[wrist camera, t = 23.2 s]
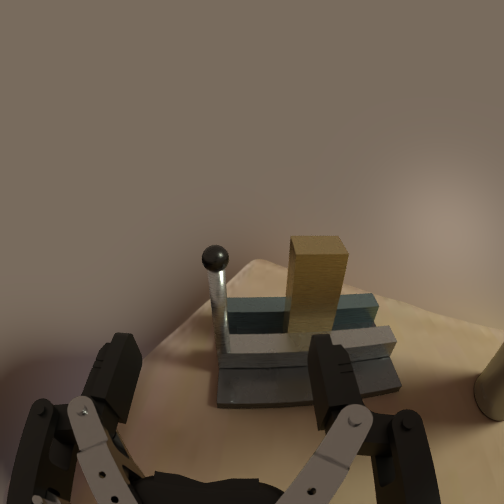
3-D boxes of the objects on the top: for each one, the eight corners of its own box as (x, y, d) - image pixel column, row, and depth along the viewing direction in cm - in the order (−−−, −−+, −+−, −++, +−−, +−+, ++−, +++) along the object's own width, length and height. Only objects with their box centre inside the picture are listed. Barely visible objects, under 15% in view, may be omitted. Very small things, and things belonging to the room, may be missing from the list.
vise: (398, 391, 28) (411, 371, 26) (217, 408, 28) (214, 389, 26) (363, 309, 42) (370, 289, 40) (224, 314, 42) (222, 293, 40)
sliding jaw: (391, 358, 32) (435, 251, 24) (214, 370, 31) (198, 253, 23) (382, 339, 35) (419, 235, 27) (216, 349, 34) (204, 234, 26)
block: (327, 346, 35) (348, 253, 28) (285, 349, 35) (296, 254, 28) (321, 325, 38) (338, 235, 31) (282, 327, 38) (290, 235, 31)
